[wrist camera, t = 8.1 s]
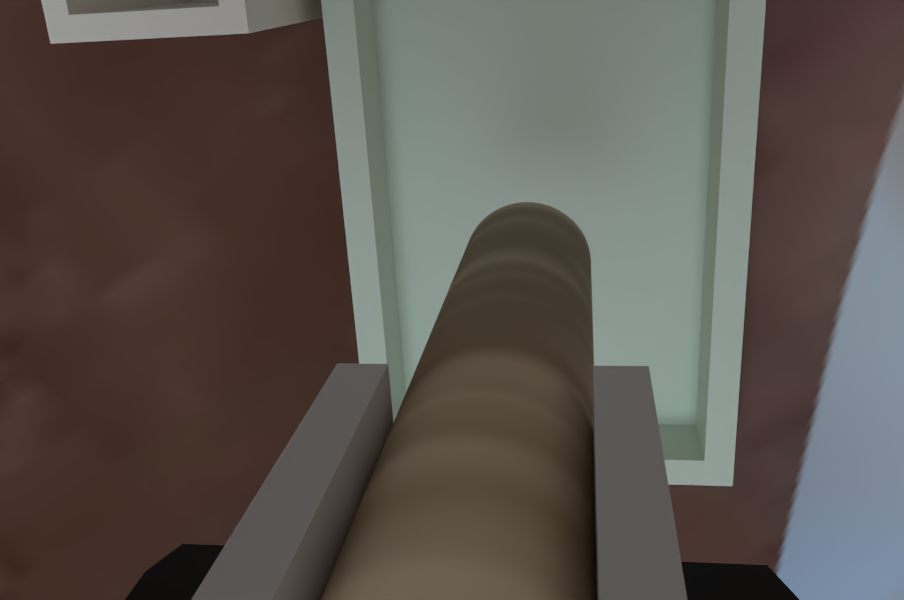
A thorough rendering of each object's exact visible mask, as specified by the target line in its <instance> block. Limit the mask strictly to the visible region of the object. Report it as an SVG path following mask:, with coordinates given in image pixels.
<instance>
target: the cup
mask: <svg viewBox="0 0 904 600" xmlns="http://www.w3.org/2000/svg"><path fill="white" fill-rule="evenodd" d="M41 1H42V6H43V11H44V15H45V20H46V25H47V29H48V34H49V39H50V43H51V44H54V43H73V42H92V41H111V40H130V39H150V38H169V37H188V36H207V35H226V34H246V33H253V32H258V31H262V30H267V29H272V28H277V27H281V26H286V25H291V24H296V23H300V22H305V21H310V20H315V19H319V18H323V14H322V5H321V0H41Z"/></svg>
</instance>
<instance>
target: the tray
mask: <svg viewBox="0 0 904 600" xmlns="http://www.w3.org/2000/svg"><path fill="white" fill-rule="evenodd" d="M321 5H322V14H323V24H324V33H325V43H326V52H327V62H328V71H329V81H330V90H331V100H332V109H333V119H334V128H335V138H336V147H337V157H338V166H339V175H340V185H341V194H342V204H343V213H344V223H345V232H346V242H347V251H348V261H349V270H350V280H351V289H352V299H353V308H354V318H355V327H356V337H357V346H358V356H359V364H388V368H389V379H390V390H391V401H392V412H393V423H394V421H395V418H396V416H397V413H398V411H399V408H400V406H401V404H402V401H403V399H404V396H405V394H406V392H407V389H408V387H409V384H410V382H411V379H412V377H413V375H414V372H415V370H416V367H417V365H418V363H419V360H420V358H421V355H422V353H423V351H424V348H425V346H426V343H427V341H428V338H429V336H430V334H431V331H432V329H433V326H434V324H435V322H436V319H437V317H438V314H439V312H440V310H441V307H442V305H443V302H444V300H445V297H446V295H447V293H448V290H449V288H450V285H451V283H452V281H453V278H454V276H455V273H456V271H457V268H458V266H459V264H460V261H461V259H462V256H463V254H464V252H465V249H466V247H467V244H468V242H469V240H470V237H471V235H472V233H473V232H474V230H475V229H476V227H477V226H478V225H479V223H480V222H481V221H482V220H483V219H484V218H485V217H487V216H488V215H489V214H491V213H492V212H494V211H495V210H497V209H499V208H501V207H504V206H507V205H510V204H514V203H521V202H535V203H540V204H545V205H548V206H551V207H553V208H555V209H558V210H559V211H561V212H563V213H564V214H566V215H567V216H568V217H569V218H571V219H572V220H573V221H574V222H575V223H576V224H577V225H578V227H579V228H580V230H581V231H582V233H583V234H584V236H585V238H586V241H587V243H588V246H589V250H590V256H591V280H592V314H593V348H594V366H649V371H650V377H651V383H652V389H653V395H654V401H655V407H656V413H657V419H658V425H659V431H660V437H661V443H662V449H663V455H664V461H665V467H666V473H667V479H668V484H673V485H708V486H733V472H734V458H735V443H736V429H737V414H738V400H739V385H740V371H741V356H742V342H743V327H744V313H745V298H746V284H747V269H748V255H749V240H750V226H751V211H752V197H753V182H754V168H755V153H756V139H757V124H758V110H759V96H760V81H761V67H762V52H763V38H764V23H765V9H766V0H321Z"/></svg>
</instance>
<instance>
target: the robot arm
mask: <svg viewBox="0 0 904 600" xmlns="http://www.w3.org/2000/svg"><path fill="white" fill-rule="evenodd" d="M392 425H393V412H392V401H391V390H390V379H389V368H388V364H339V363H337V365H336V366H335V368H334V370H333V371H332V373H331V375H330V376H329V378H328V379H327V381H326V383H325V384H324V386H323V387H322V389H321V391H320V392H319V394H318V396H317V397H316V399H315V400H314V402H313V404H312V405H311V407H310V408H309V410H308V412H307V413H306V415H305V417H304V418H303V420H302V421H301V423H300V425H299V426H298V428H297V429H296V431H295V433H294V434H293V436H292V438H291V439H290V441H289V442H288V444H287V446H286V447H285V449H284V451H283V452H282V454H281V455H280V457H279V459H278V460H277V462H276V463H275V465H274V467H273V468H272V470H271V472H270V473H269V475H268V476H267V478H266V480H265V481H264V483H263V484H262V486H261V488H260V489H259V491H258V493H257V494H256V496H255V497H254V499H253V501H252V502H251V504H250V505H249V507H248V509H247V510H246V512H245V514H244V515H243V517H242V518H241V520H240V522H239V523H238V525H237V526H236V528H235V530H234V531H233V533H232V535H231V536H230V538H229V539H228V541H227V543H226V544H225V546H218V545H195V544H182V545H181V546H179V547H178V548H177V549H175V550H174V551H172V552H171V553H170V554H168V555H167V556H166V557H164V558H163V559H162V560H160V561H159V562H158V563H156V564H155V565H154V566H152V567H151V568H150V569H148V570H147V571H146V572H145V573H144V574H143V576H142V577H141V578H140V580H139V581H138V583H137V584H136V585H135V587H134V588H133V589H132V591H131V592H130V594H129V595H128V596H127V598H126V599H125V600H320V599H321V597H322V594H323V592H324V589H325V587H326V585H327V582H328V580H329V577H330V575H331V573H332V570H333V568H334V565H335V563H336V560H337V558H338V556H339V553H340V551H341V548H342V546H343V544H344V541H345V539H346V536H347V534H348V532H349V529H350V527H351V524H352V522H353V519H354V517H355V515H356V512H357V510H358V507H359V505H360V503H361V500H362V498H363V495H364V493H365V490H366V488H367V486H368V483H369V481H370V478H371V476H372V474H373V471H374V469H375V466H376V464H377V462H378V459H379V457H380V454H381V452H382V449H383V447H384V445H385V442H386V440H387V437H388V435H389V433H390V430H391V428H392ZM593 449H594V493H595V538H596V583H597V600H799V599H798V598H797V597H796V596H795V595H794V593H793V592H792V591H791V590H790V589H789V588H788V587H787V586H786V585H785V584H784V583H783V582H782V581H781V580H780V579H779V577H778V576H777V575H776V574H775V573H774V572H773V571H772V570H771V569H770V568H769V567H768V566H767V565H745V564H721V563H697V562H681V558H680V552H679V546H678V540H677V534H676V528H675V522H674V516H673V510H672V504H671V497H670V491H669V485H668V479H667V473H666V467H665V461H664V455H663V449H662V443H661V437H660V431H659V425H658V419H657V413H656V407H655V401H654V395H653V389H652V383H651V377H650V371H649V366H593Z"/></svg>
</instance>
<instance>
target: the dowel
mask: <svg viewBox="0 0 904 600" xmlns="http://www.w3.org/2000/svg"><path fill="white" fill-rule="evenodd" d="M593 366H594V348H593V314H592V280H591V256H590V250H589V246H588V243H587V241H586V238H585V236H584V234H583V233H582V231H581V230H580V228H579V227H578V225H577V224H576V223H575V222H574V221H573V220H572V219H571V218H569V217H568V216H567V215H566V214H564V213H563V212H561V211H559V210H558V209H555V208H553V207H551V206H548V205H545V204H540V203H535V202H521V203H514V204H510V205H507V206H504V207H501V208H499V209H497V210H495V211H494V212H492V213H491V214H489V215H488V216H487V217H485V218H484V219H483V220H482V221H481V222H480V223H479V225H478V226H477V227H476V229H475V230H474V232H473V233H472V235H471V237H470V240H469V242H468V244H467V247H466V249H465V252H464V254H463V256H462V259H461V261H460V264H459V266H458V268H457V271H456V273H455V276H454V278H453V281H452V283H451V285H450V288H449V290H448V293H447V295H446V297H445V300H444V302H443V305H442V307H441V310H440V312H439V314H438V317H437V319H436V322H435V324H434V326H433V329H432V331H431V334H430V336H429V338H428V341H427V343H426V346H425V348H424V351H423V353H422V355H421V358H420V360H419V363H418V365H417V367H416V370H415V372H414V375H413V377H412V379H411V382H410V384H409V387H408V389H407V392H406V394H405V396H404V399H403V401H402V404H401V406H400V408H399V411H398V413H397V416H396V418H395V421H394V423H393V425H392V428H391V430H390V433H389V435H388V437H387V440H386V442H385V445H384V447H383V449H382V452H381V454H380V457H379V459H378V462H377V464H376V466H375V469H374V471H373V474H372V476H371V478H370V481H369V483H368V486H367V488H366V490H365V493H364V495H363V498H362V500H361V503H360V505H359V507H358V510H357V512H356V515H355V517H354V519H353V522H352V524H351V527H350V529H349V532H348V534H347V536H346V539H345V541H344V544H343V546H342V548H341V551H340V553H339V556H338V558H337V560H336V563H335V565H334V568H333V570H332V573H331V575H330V577H329V580H328V582H327V585H326V587H325V589H324V592H323V594H322V597H321V599H320V600H597V583H596V538H595V493H594V449H593Z"/></svg>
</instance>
